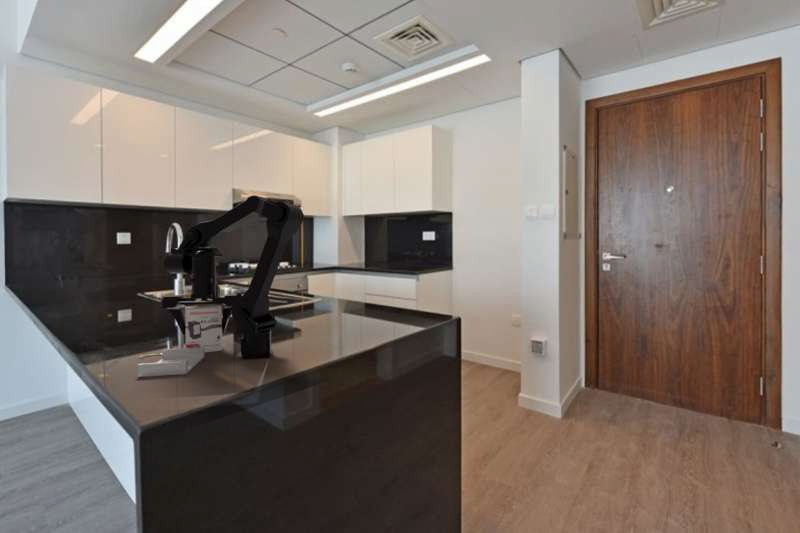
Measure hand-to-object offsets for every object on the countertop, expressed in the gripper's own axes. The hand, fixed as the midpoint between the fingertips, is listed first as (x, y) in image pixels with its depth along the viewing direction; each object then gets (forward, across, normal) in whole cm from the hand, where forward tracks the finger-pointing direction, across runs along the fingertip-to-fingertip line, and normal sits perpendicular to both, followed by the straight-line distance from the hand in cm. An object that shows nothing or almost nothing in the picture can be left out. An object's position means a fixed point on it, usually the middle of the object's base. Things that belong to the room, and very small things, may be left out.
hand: (204, 333), depth 102 cm
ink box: (+5, 0, 0) cm, 5 cm away
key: (+5, +12, +3) cm, 13 cm away
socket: (+5, +3, +14) cm, 15 cm away
